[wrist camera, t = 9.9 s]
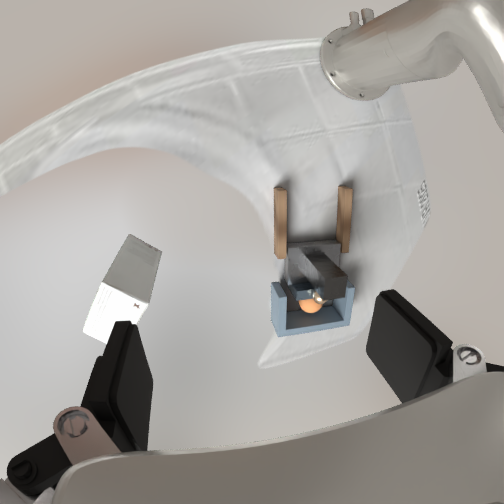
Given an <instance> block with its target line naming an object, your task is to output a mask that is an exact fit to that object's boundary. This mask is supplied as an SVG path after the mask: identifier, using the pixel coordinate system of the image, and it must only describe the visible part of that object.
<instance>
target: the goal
mask: <svg viewBox="0 0 504 504" xmlns="http://www.w3.org/2000/svg"><path fill="white" fill-rule="evenodd" d="M354 292H355V287H354V286H353V285H352V284H351V283H350V282H349V281H348V280H347V286H346V294H345V298H339V299H333V306H326V307H321V308H320V309H319V310H318V311H317V312H314V313H307V312H305V311H303V310H299V311H292V312H286V309H287V296H286V294H285V293H284V291H283V289H282V287H281V285H280V283H279V282H272V283H271V321H272V323H273V326H274V328H275V331H276V333H277V336H278V337H283V336H289V335H296V334H302V333H309V332H315V331H321V330H326V329H332V328H337V327H343V326H348V325H350V318H351V312H352V306H353V299H354Z"/></svg>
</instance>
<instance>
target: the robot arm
mask: <svg viewBox="0 0 504 504" xmlns="http://www.w3.org/2000/svg"><path fill="white" fill-rule="evenodd" d="M361 13H362V20H363V25H362V26H361V25H359V15H358V13H357V12H350V14H349V15H350V20H351V24H350V26H349V27H341V28H339V29H336V30H334V31H333V32H331V33H330V34H329V35H328V36H327V37H326V38H325V40H324V41H323V43H322V46H321V50H320V61H321V65H322V69H323V71H324V73H325V76H326V77H327V79H328V80H329V82H330V83H331V84H332V85H333V86H334V87H335V88H336V89H337V90H338V91H339V92H340V93H342V94H344V95H345V96H347V97H349V98H352V99H355V100H360V101H368V100H373V99H376V98H379V97H380V96H382V95H383V94H384V93H385V92H386V91H387V90H388V88H389V87H390V86H393V85H398V84H403V83H410V82H416V81H423V80H430V79H438V78H442V77H446V76H448V75H450V74H451V73H453V72H454V71H455V70H456V69H457V67H458V66H459V65H460V63H461V61H462V59H464V60H465V62H466V63H467V65H468V66H469V68H470V70H471V72H472V73H473V75H474V76H475V78H476V80H477V82H478V84H479V86H480V88H481V90H482V92H483V94H484V96H485V99H486V101H487V103H488V105H489V107H490V109H491V111H492V114H493V116H494V118H495V120H496V122H497V124H498V126H499V127H500V129H501V130H502V132H503V133H504V0H409V1H407V2H405V3H403V4H401V5H399V6H398V7H395V8H393V9H391V10H389V11H388V12H386V13H384V14H382V15H380V16H378V17H376V18H374V13H373V10H371V9H362V10H361ZM329 42H330V43H329ZM330 74H332V76H331V75H330ZM359 94H360V95H359ZM452 343H453V342H452V341H451V340H450V339H449V338H448V337H447V336H446V335H445V334H444V333H443V332H441V331H440V330H439V329H438V328H437V327H436V326H435V325H434V324H433V323H432V322H431V321H430V320H428V319H427V318H426V317H425V316H424V315H423V314H422V313H420V312H419V311H418V310H417V309H416V308H415V307H414V306H413V305H412V304H411V303H409V302H408V301H407V300H406V299H405V298H404V297H402V296H401V295H400V294H399V293H398V292H397V291H396V290H394V289H392V290H386V291H382V292H380V294H379V295H378V296H377V297H376V301H375V307H374V312H373V317H372V323H371V327H370V332H369V336H368V341H367V345H366V352H367V355H368V356H369V358H370V359H371V360H372V362H373V363H374V365H375V366H376V367H377V369H378V370H379V371H380V373H381V374H382V375H383V377H384V378H385V380H386V381H387V383H388V384H389V385H390V387H391V388H392V389H393V391H394V392H395V394H396V395H397V397H398V398H399V399H400V401H401V402H402V404H400V405H397V406H394V407H392V408H389V409H386V410H383V411H380V412H378V413H374V414H371V415H368V416H365V417H362V418H358V419H355V420H352V421H348V422H345V423H341V424H338V425H334V426H330V427H326V428H322V429H318V430H314V431H310V432H305V433H301V434H296V435H291V436H286V437H280V438H275V439H269V440H263V441H257V442H250V443H244V444H235V445H227V446H217V447H207V448H193V449H179V450H178V449H177V450H154V451H147V445H148V433H149V421H150V410H151V399H152V391H153V378H152V375H151V371H150V368H149V365H148V362H147V359H146V355H145V352H144V348H143V345H142V341H141V338H140V334H139V331H138V327H137V325H136V324H132V322H131V321H130V320H126V321H115V323H114V326H113V329H112V331H111V334H110V337H109V339H108V342H107V345H106V348H105V350H104V353H103V356H99V357H98V358H97V359H96V362H95V364H94V368H93V370H92V373H91V376H90V379H89V382H88V385H87V388H86V391H85V394H84V397H83V400H82V404H81V406H80V407H78V406H75V407H69V408H66V409H64V410H63V411H61V412H60V413H59V414H58V415H57V416H56V418H55V420H54V423H53V429H54V434H52V435H51V436H49V437H47V438H46V439H44V440H42V441H41V442H39V443H37V444H35V445H34V446H32V447H30V448H28V449H27V450H25V451H23V452H21V453H20V454H18V455H16V456H15V457H14V458H12V459H11V461H10V462H9V464H8V467H7V476H8V478H7V479H6V480H5V481H4V480H3V479H0V504H504V366H499V365H494V364H490V363H486V362H485V357H484V354H483V353H482V352H481V351H480V350H479V349H478V348H476V347H474V346H472V345H469V344H462V345H458V346H456V347H455V349H454V350H452V349H451V346H452Z"/></svg>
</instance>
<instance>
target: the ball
mask: <svg viewBox="0 0 504 504" xmlns="http://www.w3.org/2000/svg"><path fill="white" fill-rule="evenodd" d="M299 305H300V307H301V309H302V310H303V311H305V312H307V313H314V312H317V311H318V310H319V309H320V308H321V307H322V305H323V304H317V303H316V302H315V301H314V300H313V299H306V300H299Z"/></svg>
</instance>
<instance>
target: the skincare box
mask: <svg viewBox="0 0 504 504" xmlns="http://www.w3.org/2000/svg"><path fill="white" fill-rule="evenodd" d="M161 254H162V251H160V250H158V249H156V248H154V247H153V246H151V245H149V244H147V243H145V242H144V241H142V240H140V239H138V238H136V237H135V236H133V235H131V234H129V235H128V237H127V239H126V240H125V242H124V244H123V246H122V247H121V249H120V251H119V252H118V254H117V256H116V258H115V260H114V261H113V263H112V265H111V267H110V268H109V270H108V272H107V274H106V276H105V278H104V279H103V281H102V282H101V284H100V286H99V289H98V291H97V293H96V295H95V298H94V300H93V303H92V305H91V308H90V311H89V314H88V316H87V319H86V322H85V325H84V329H83V332H84V333H86V334H88V335H90V336H92V337H94V338H96V339H98V340H100V341H102V342H104V343H106V344H107V342H108V339H109V337H110V334H111V331H112V329H113V326H114V323H115V321H126V320H130V321H131V322H132V324H136V325H137V324H138V322H139V320H140V318H141V316H142V315H143V313H144V311H145V310H146V308H147V307H148V305H149V302H150V298H151V294H152V290H153V285H154V281H155V277H156V273H157V269H158V265H159V261H160V257H161Z"/></svg>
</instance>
